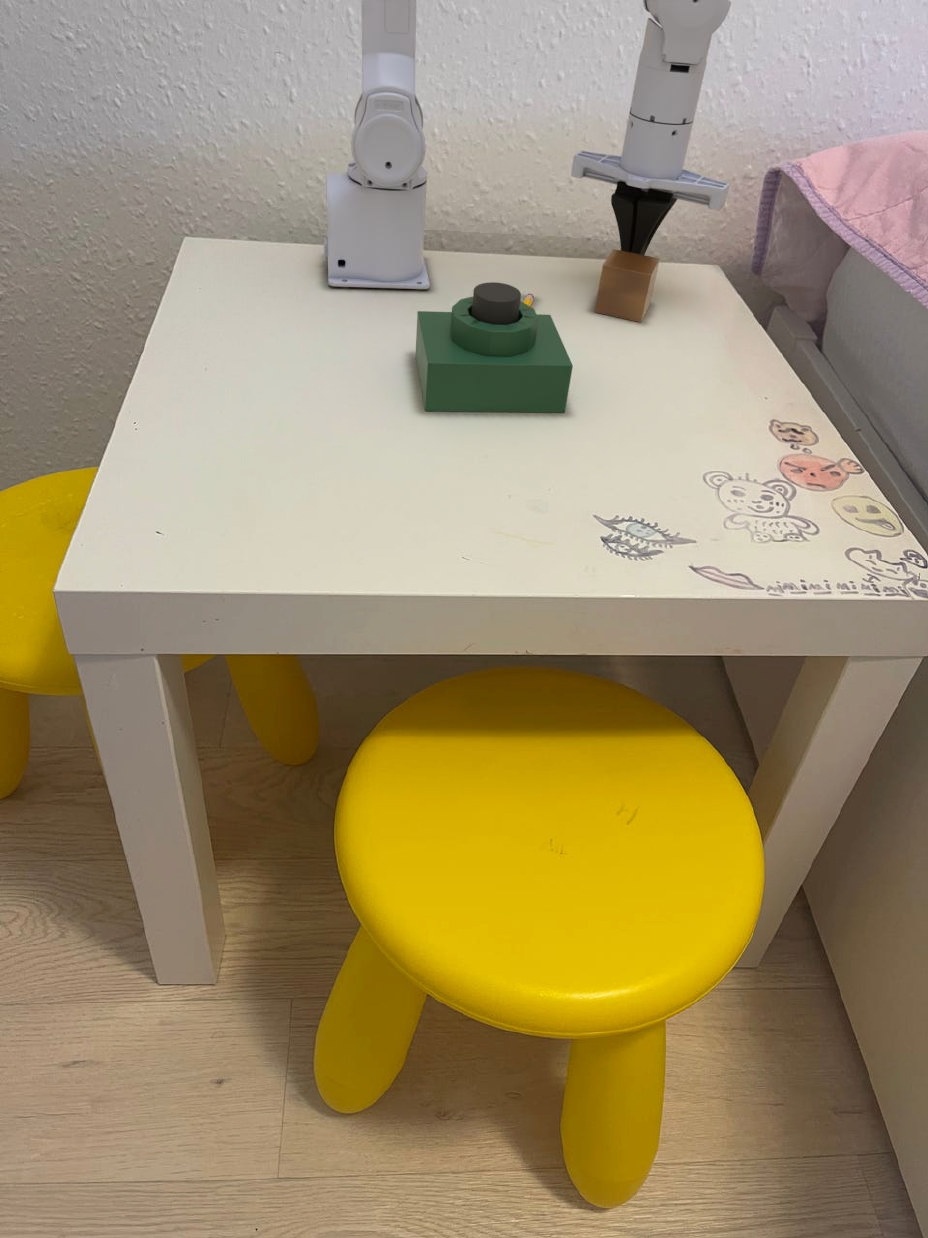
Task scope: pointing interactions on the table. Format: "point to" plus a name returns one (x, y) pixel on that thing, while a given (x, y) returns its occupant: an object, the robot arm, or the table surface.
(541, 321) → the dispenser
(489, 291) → the dark grey push button
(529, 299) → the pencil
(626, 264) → the block
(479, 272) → the table surface
